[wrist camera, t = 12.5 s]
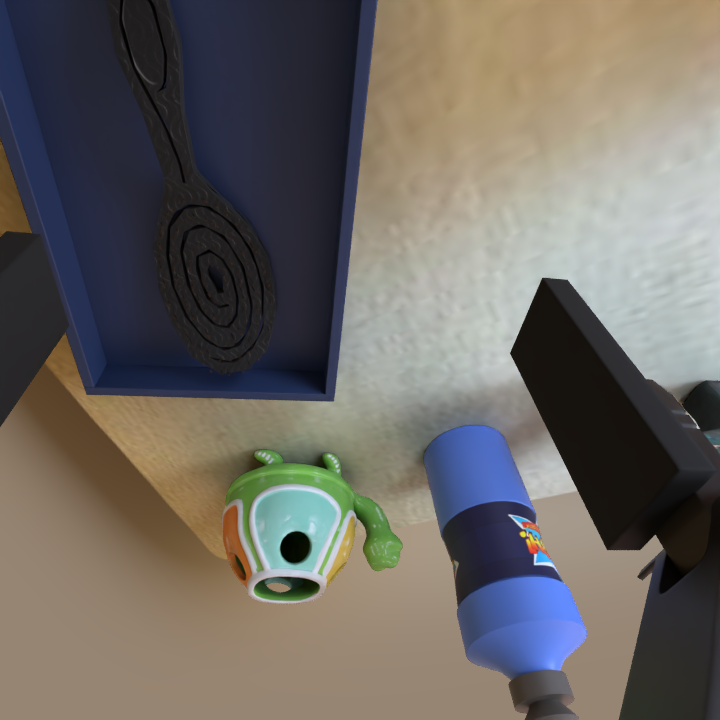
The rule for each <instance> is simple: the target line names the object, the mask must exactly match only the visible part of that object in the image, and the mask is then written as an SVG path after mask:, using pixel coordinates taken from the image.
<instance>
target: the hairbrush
mask: <svg viewBox="0 0 720 720" xmlns="http://www.w3.org/2000/svg"><path fill="white" fill-rule="evenodd" d="M106 4H107V10H108V15H109V21H110V27H111V32H112V38H113V43H114V49H115V54H116V56H117V58H118V61H119V63H120V65H121V67H122V70H123V72H124V74H125V76H126V79H127V81H128V83H129V85H130V88H131V90H132V92H133V94H134V97H135V99H136V101H137V103H138V106H139V108H140V110H141V113H142V115H143V118H144V121H145V124H146V127H147V130H148V132H149V135H150V138H151V141H152V144H153V147H154V150H155V152H156V155H157V158H158V161H159V164H160V167H161V170H162V172H163V175H164V188H163V197H162V205H161V210H160V215H159V218H158V223H157V229H156V234H155V238H154V243H153V254H154V260H155V267H156V273H157V280H158V286H159V292H160V294H161V297H162V300H163V302H164V305H165V308H166V310H167V313H168V316H169V318H170V321H171V324H172V325H173V327H174V329H175V330H176V332H177V334H178V335H179V337H180V339H181V340H182V342H183V344H184V345H185V347H186V349H187V350H188V352H189V353H190V355H191V356H192V357H193V358H195V359H197V360H198V361H200V362H202V363H204V364H205V365H207V366H209V367H210V368H212V369H214V370H215V371H217V372H219V373H221V374H222V375H223V374H224V373H228V374H229V373H230V372H237V371H242V373H243V370H246V371H248V370H247V369H248V368H249V367H250V368H251V369H252V367H251V365H252V364H253V363H254V362H255V361H256V360H257V359H258V360H259V357H261V355H262V354H263V353H265V351H266V350H267V348H268V345H269V341H270V338H271V334H272V331H273V328H274V321H275V315H276V309H277V297H276V288H275V283H274V278H273V274H272V268H271V263H270V258H269V254H268V252H267V250H266V249H265V247H264V245H263V244H262V242H261V240H260V239H259V237H258V235H257V233H256V232H255V230H254V228H253V227H252V225H251V223H250V222H249V220H248V219H246V218H245V217H244V216H243V215H242V214H241V213H240V212H239V211H238V210H237V209H236V208H235V207H234V206H233V205H232V204H230V203H229V202H228V201H227V200H226V199H225V198H224V197H223V196H222V195H221V194H220V193H219V192H218V191H217V190H216V189H215V188H214V187H213V186H212V185H211V184H210V182H209V181H208V180H207V179H206V178H205V177H204V176H203V175H202V174H201V173H200V172H199V171H198V170H197V167H196V162H195V157H194V152H193V147H192V142H191V137H190V132H189V127H188V122H187V117H186V112H185V102H184V80H183V58H182V40H181V37H180V34H179V31H178V27H177V24H176V21H175V18H174V14H173V11H172V8H171V5H170V1H169V0H106ZM166 77H167V84H166V87H165V88H164V85H165V83H166ZM163 88H164V89H163ZM159 112H160V113H159ZM160 114H161V115H160ZM161 116H162V117H161ZM162 118H163V119H162ZM163 120H164V121H163ZM164 122H165V123H164ZM165 124H166V125H167V127H166V125H165ZM167 128H168V129H167ZM188 204H193V205H189V206H187V207H186V208H185V209H184V210H182V211H181V212H180V213H178V214H177V217H176V219H175V220H174V222H173V224H172V226H171V229H170V225H171V223H172V221H173V218H174V216H175V214H176V212H177V211H178V210H179V209H181V208H183V207H185V206H186V205H188ZM198 224H201V225H198ZM190 228H191V229H190ZM188 229H190V231H189V233H188V235H187V238H186V242H185V246H184V234H185V233H186V232H187V231H188ZM251 249H252V250H251ZM252 251H253V252H252ZM199 254H201V255H200V257H199ZM198 260H199V263H200V269H199V266H198ZM210 263H211V264H212V265H211V266H214V267H215V268H216V269H217V270H218V271H219V272H220V273H221V274H222V279H223V288H218V287H217V285H216V283H215V281H214V279H213V277H212V275H211V273H210V271H209V270H210ZM243 265H244V267H243ZM244 268H245V269H244ZM200 271H201V272H200ZM260 275H261V277H260ZM261 278H262V281H263V285H264V322H263V325H262V328H261V331H260V334H259V336H258V338H257V339H256V336H257V334H258V330H259V326H260V322H261V318H262V315H263V288H262V283H261ZM249 290H250V291H249ZM237 293H238V294H237ZM250 294H251V295H250ZM238 297H239V307H238V314H237V316H236V318H235V319H234V320H233V321H231V320H232V318H233V317H234V315H235V313H236V310H237V301H238ZM251 299H252V300H251ZM251 303H253V312H252V318H251V322H250V326H249V329H248V331H247V333H246V334H245V335H244V333H245V331H246V328H247V325H248V321H249V318H250V312H251ZM230 321H231V322H230ZM229 322H230V323H229ZM243 335H244V336H243ZM242 336H243V337H242ZM241 337H242V338H241ZM240 338H241V339H240ZM239 339H240V341H239V342H238V340H239ZM255 339H256V340H255ZM254 341H255V342H254ZM237 342H238V343H237ZM253 342H254V343H253ZM251 344H252V345H251ZM250 345H251V346H250ZM249 346H250V347H249ZM247 349H248V350H247ZM246 350H247V351H246ZM245 351H246V352H245ZM204 364H203V366H204ZM210 368H209V369H210ZM210 372H211V373H213V372H212V371H211V370H210ZM232 375H233V373H232ZM229 376H230V374H229Z"/></svg>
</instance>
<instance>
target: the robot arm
mask: <svg viewBox="0 0 720 720" xmlns="http://www.w3.org/2000/svg"><path fill="white" fill-rule="evenodd" d="M68 327H69V323H68V320H67V317H66V313H65V310H64V307H63V304H62V301H61V297H60V294H59V291H58V288H57V285H56V281H55V278H54V275H53V272H52V269H51V266H50V262H49V259H48V256H47V253H46V250H45V246H44V243H43V240H42V237H41V234H30V233H19V232H5V233H4V234H3V235H2V236H1V237H0V426H1V425H2V424H3V422H4V421H5V419H6V418H7V416H8V415H9V413H10V412H11V411H12V409H13V408H14V406H15V405H16V403H17V402H18V400H19V399H20V397H21V396H22V394H23V393H24V391H25V390H26V389H27V387H28V385H29V384H30V382H31V381H32V380H33V378H34V377H35V375H36V374H37V372H38V371H39V369H40V368H41V366H42V365H43V364H44V362H45V361H46V359H47V358H48V356H49V355H50V353H51V352H52V350H53V349H54V347H55V346H56V345H57V343H58V342H59V340H60V339H61V337H62V336H63V334H64V333H65V331H66V330H67V328H68ZM510 354H511V356H512V358H513V360H514V362H515V364H516V366H517V368H518V370H519V372H520V374H521V376H522V378H523V380H524V382H525V384H526V386H527V388H528V390H529V392H530V394H531V397H532V399H533V401H534V403H535V405H536V407H537V409H538V411H539V413H540V415H541V417H542V419H543V421H544V423H545V425H546V427H547V429H548V431H549V433H550V435H551V437H552V439H553V441H554V443H555V445H556V447H557V449H558V451H559V453H560V455H561V457H562V459H563V461H564V463H565V465H566V467H567V469H568V472H569V474H570V476H571V478H572V480H573V482H574V484H575V486H576V488H577V490H578V492H579V494H580V496H581V498H582V500H583V502H584V504H585V506H586V508H587V510H588V512H589V514H590V516H591V518H592V520H593V522H594V524H595V526H596V528H597V530H598V532H599V534H600V536H601V538H602V540H603V542H604V545H605V546H606V548H607V550H640V549H642V547H644V545H645V544H646V543H647V542H648V541H649V540H650V539H651V538H652V537H653V536H654V535H655V534H656V536H657V538H658V539H659V541H660V543H661V544H662V546H663V548H664V549H663V550H662V551H661V552H660V553H659V554H658V555H657V556H656V557H655V558H654V559H653V560H652V561H651V562H650V563H649V564H647V565H646V566H645V567H644V568H643V569H642V570H641V572H640V573H639V575H638V578H639V579H641V580H643V579H644V578H645V577H647V576H648V575H649V574H650V573H652V577H651V582H650V586H649V590H648V595H647V599H646V604H645V608H644V612H643V616H642V621H641V625H640V630H639V634H638V638H637V643H636V647H635V651H634V656H633V660H632V665H631V669H630V673H629V678H628V682H627V686H626V691H625V695H624V699H623V704H622V708H621V712H620V717H619V720H720V453H719V452H718V451H717V449H716V448H715V447H714V446H713V445H712V443H711V442H710V441H709V440H708V438H707V437H706V436H705V435H704V434H703V432H702V431H701V430H700V429H697V428H696V426H697V425H696V424H695V423H694V421H693V420H692V419H691V418H690V416H689V415H685V410H684V409H683V408H682V407H681V406H680V404H679V403H678V402H677V401H676V399H675V398H674V397H673V396H672V395H671V394H670V393H669V392H667V391H666V390H665V389H664V388H662V387H661V386H660V385H658V384H657V383H656V382H654V381H653V380H649V379H645V378H644V376H643V375H642V374H641V373H640V371H639V370H638V369H637V367H636V366H635V365H634V364H633V362H632V361H631V360H630V359H629V357H628V356H627V355H626V353H625V352H624V351H623V350H622V348H621V347H620V346H619V345H618V343H617V342H616V341H615V340H614V338H613V337H612V336H611V334H610V333H609V332H608V331H607V329H606V328H605V327H604V326H603V324H602V323H601V322H600V320H599V319H598V318H597V317H596V315H595V314H594V313H593V312H592V310H591V309H590V308H589V306H588V305H587V304H586V303H585V301H584V300H583V299H582V298H581V296H580V295H579V294H578V293H577V291H576V290H575V289H574V287H573V286H572V285H571V284H570V282H569V281H568V280H563V279H551V278H542V280H541V282H540V285H539V287H538V289H537V292H536V294H535V296H534V299H533V301H532V303H531V306H530V308H529V310H528V313H527V315H526V317H525V320H524V322H523V324H522V327H521V329H520V331H519V334H518V336H517V338H516V341H515V343H514V345H513V348H512V350H511V352H510Z"/></svg>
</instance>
